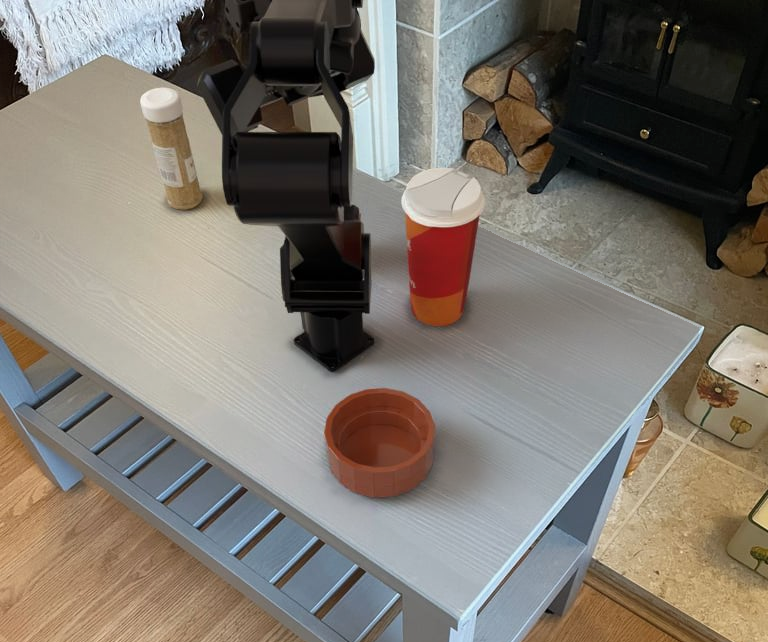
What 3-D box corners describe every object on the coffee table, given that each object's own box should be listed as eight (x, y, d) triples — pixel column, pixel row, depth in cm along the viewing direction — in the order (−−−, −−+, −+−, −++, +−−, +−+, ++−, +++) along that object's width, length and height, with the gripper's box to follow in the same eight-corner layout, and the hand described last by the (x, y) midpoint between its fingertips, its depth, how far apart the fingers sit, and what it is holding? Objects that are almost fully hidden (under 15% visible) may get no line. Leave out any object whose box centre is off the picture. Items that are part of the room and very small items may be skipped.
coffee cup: (430, 274, 94) (435, 154, 82) (488, 304, 91) (502, 184, 78) (385, 312, 90) (383, 193, 78) (444, 344, 87) (451, 225, 75)
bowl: (455, 458, 78) (457, 428, 75) (378, 520, 74) (377, 491, 71) (382, 403, 83) (381, 371, 79) (306, 458, 79) (301, 428, 75)
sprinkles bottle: (210, 200, 103) (187, 95, 92) (181, 216, 101) (154, 111, 90) (189, 185, 105) (164, 81, 94) (160, 200, 103) (131, 96, 92)
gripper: (353, -74, 77) (300, 8, 91) (184, -16, 71) (155, 63, 85) (405, 43, 80) (345, 105, 94) (247, 109, 74) (208, 165, 88)
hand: (266, 107), depth 90 cm, fingers open, 9 cm apart
